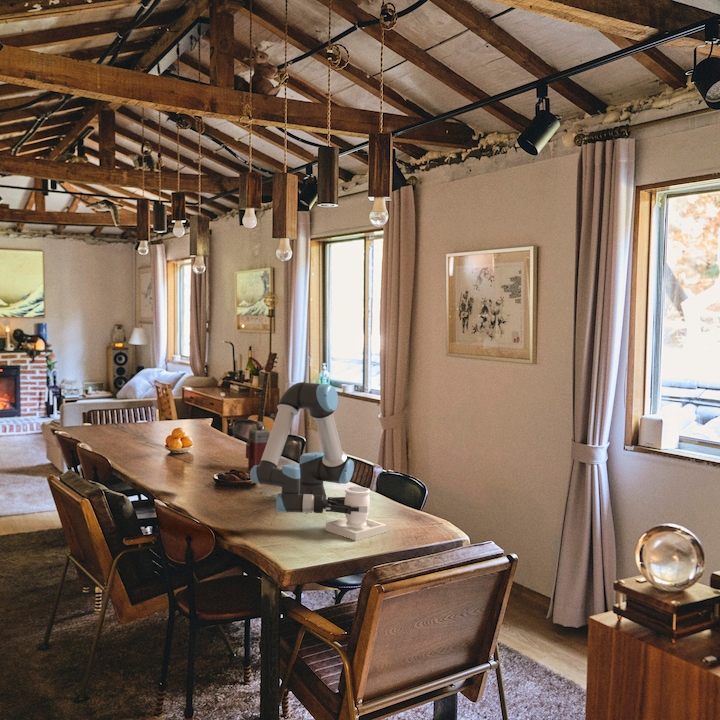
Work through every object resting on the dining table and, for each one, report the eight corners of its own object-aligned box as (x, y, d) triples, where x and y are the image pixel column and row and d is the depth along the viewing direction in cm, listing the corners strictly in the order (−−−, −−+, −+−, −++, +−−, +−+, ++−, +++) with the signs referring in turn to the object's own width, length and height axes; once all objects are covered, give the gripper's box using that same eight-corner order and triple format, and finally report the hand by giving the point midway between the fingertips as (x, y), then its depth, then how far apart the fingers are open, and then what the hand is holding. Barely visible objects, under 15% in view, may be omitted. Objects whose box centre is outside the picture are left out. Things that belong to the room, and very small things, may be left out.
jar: (372, 523, 295) (373, 487, 294) (365, 529, 285) (366, 493, 284) (347, 520, 298) (349, 485, 297) (340, 526, 288) (341, 490, 287)
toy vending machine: (244, 470, 397) (245, 421, 396) (262, 468, 404) (263, 420, 402) (251, 473, 390) (252, 423, 388) (269, 471, 396) (270, 422, 395)
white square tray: (356, 522, 305) (356, 515, 304) (386, 532, 292) (387, 524, 292) (325, 530, 292) (325, 522, 292) (355, 541, 279) (355, 533, 279)
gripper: (315, 505, 303) (366, 507, 303) (311, 520, 280) (366, 522, 280) (316, 488, 302) (367, 489, 302) (311, 502, 280) (367, 504, 280)
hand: (367, 505), depth 291 cm, fingers closed on jar, 10 cm apart
